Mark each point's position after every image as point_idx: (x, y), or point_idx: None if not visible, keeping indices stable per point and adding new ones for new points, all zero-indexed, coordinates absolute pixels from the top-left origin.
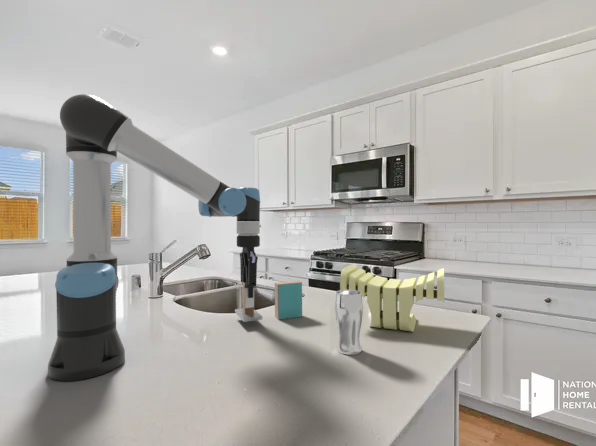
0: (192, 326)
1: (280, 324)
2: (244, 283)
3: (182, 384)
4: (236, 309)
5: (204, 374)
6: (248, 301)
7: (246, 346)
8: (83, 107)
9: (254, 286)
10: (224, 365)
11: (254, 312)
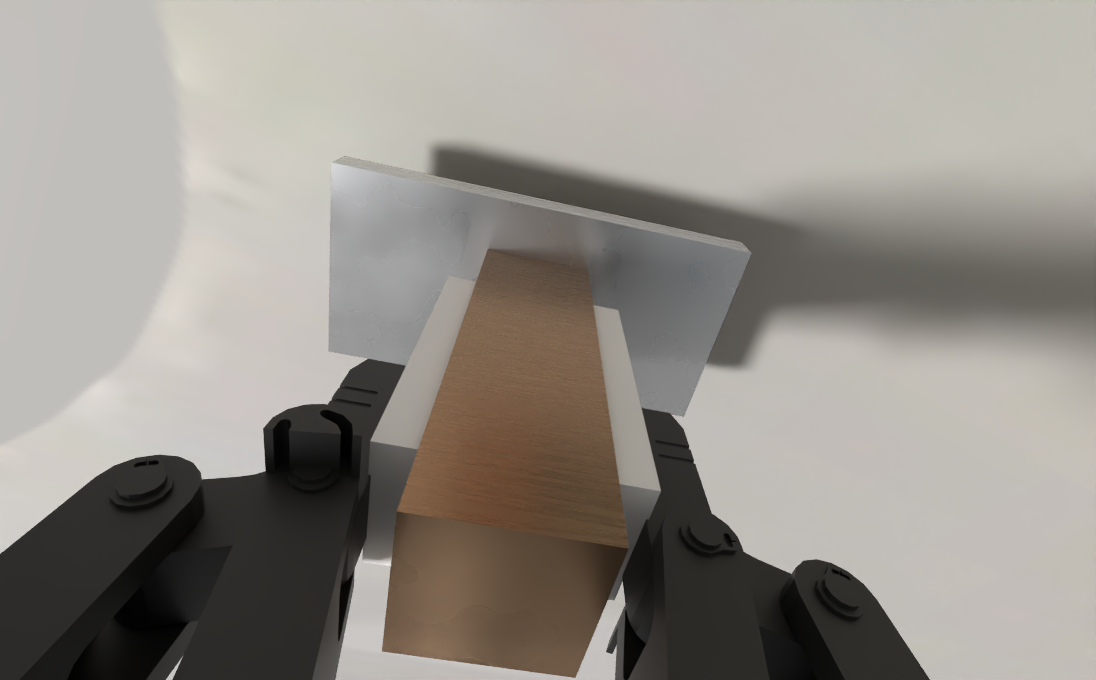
0: None
1: (810, 26)
2: (538, 663)
3: None
4: (349, 344)
5: (1005, 665)
6: None
7: (943, 475)
8: None
9: (731, 533)
10: (1018, 608)
11: (565, 249)
